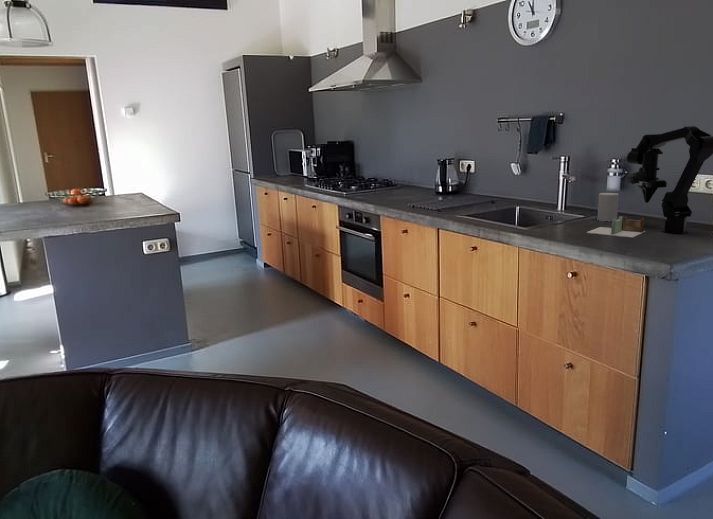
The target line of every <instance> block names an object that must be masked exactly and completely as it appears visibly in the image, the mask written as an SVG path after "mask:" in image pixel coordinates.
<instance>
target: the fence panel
mask: <svg viewBox="0 0 713 519" xmlns="http://www.w3.org/2000/svg"><path fill="white" fill-rule="evenodd" d="M623 220H624V216H622V215H621V216H620V215H619V216H618V218H617V220H615V219H613V220H612V222H611V227H610V228H611V234H615V233H617V232H619V231H621V230H622V221H623Z"/></svg>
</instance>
